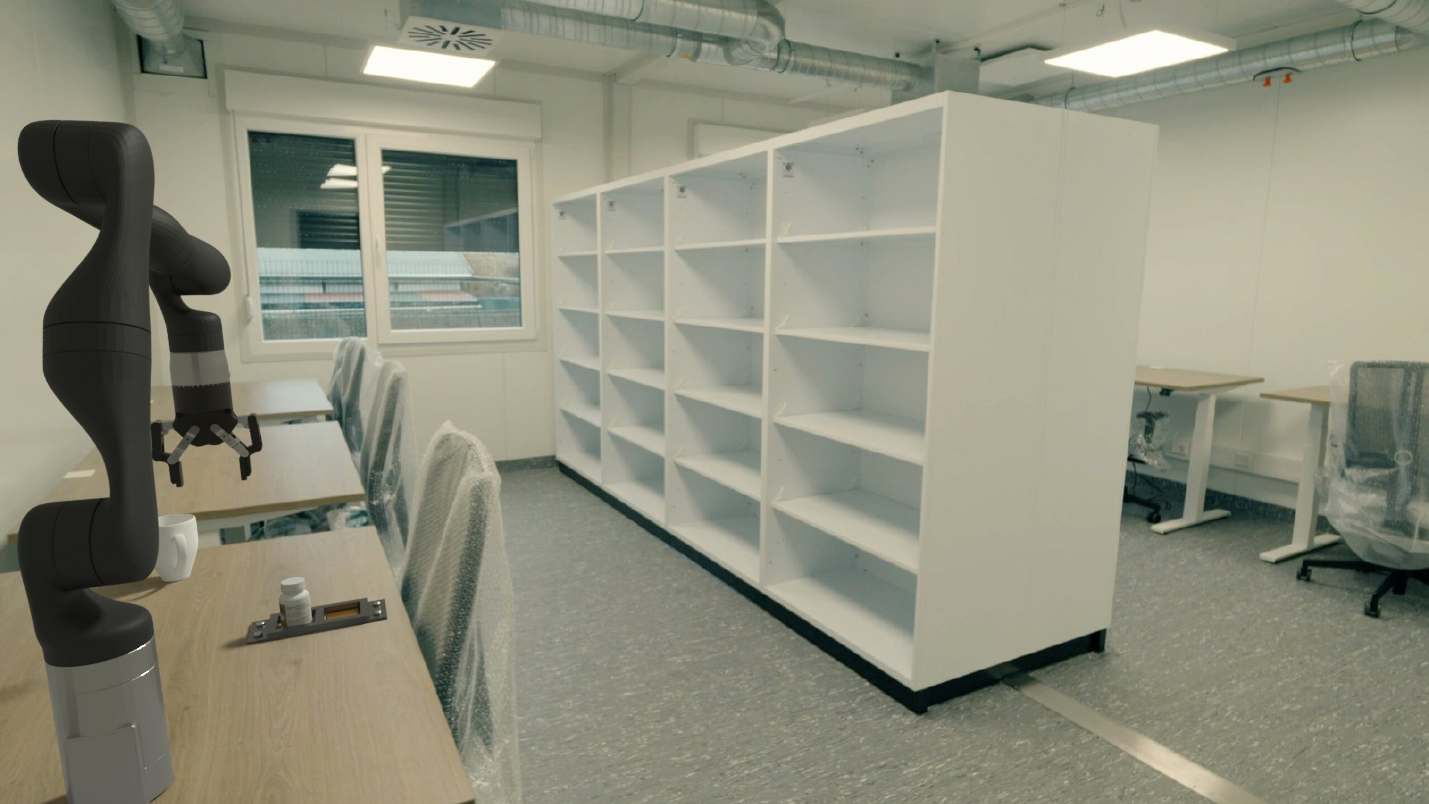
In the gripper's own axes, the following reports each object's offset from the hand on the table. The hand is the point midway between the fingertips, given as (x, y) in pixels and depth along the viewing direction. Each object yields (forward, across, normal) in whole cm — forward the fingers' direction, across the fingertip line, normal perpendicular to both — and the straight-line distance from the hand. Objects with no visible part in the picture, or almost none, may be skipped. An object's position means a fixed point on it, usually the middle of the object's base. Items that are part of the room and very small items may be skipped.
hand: (213, 482), depth 120 cm
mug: (+24, -11, +28) cm, 39 cm away
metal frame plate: (+24, +13, -4) cm, 28 cm away
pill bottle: (+24, +10, -4) cm, 27 cm away
